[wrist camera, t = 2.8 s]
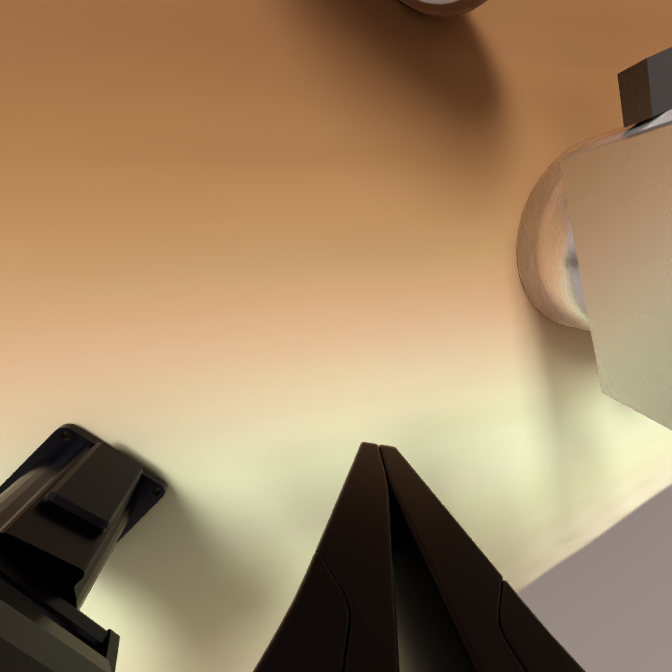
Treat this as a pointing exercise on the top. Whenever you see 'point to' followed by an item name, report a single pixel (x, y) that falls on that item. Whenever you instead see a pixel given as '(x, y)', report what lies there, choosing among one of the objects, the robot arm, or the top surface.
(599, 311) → the lid
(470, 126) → the top surface
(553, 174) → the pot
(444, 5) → the tin
